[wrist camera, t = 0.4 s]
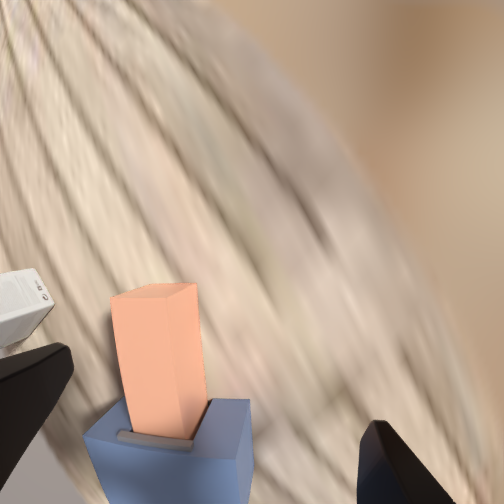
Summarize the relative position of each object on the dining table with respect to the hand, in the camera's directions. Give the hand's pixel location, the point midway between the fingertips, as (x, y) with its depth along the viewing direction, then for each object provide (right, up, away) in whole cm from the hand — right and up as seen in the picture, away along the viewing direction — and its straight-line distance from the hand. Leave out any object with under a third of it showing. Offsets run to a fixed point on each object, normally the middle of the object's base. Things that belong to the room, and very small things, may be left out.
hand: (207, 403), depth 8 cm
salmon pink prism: (-4, -5, +15) cm, 16 cm away
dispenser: (-4, -11, +15) cm, 19 cm away
